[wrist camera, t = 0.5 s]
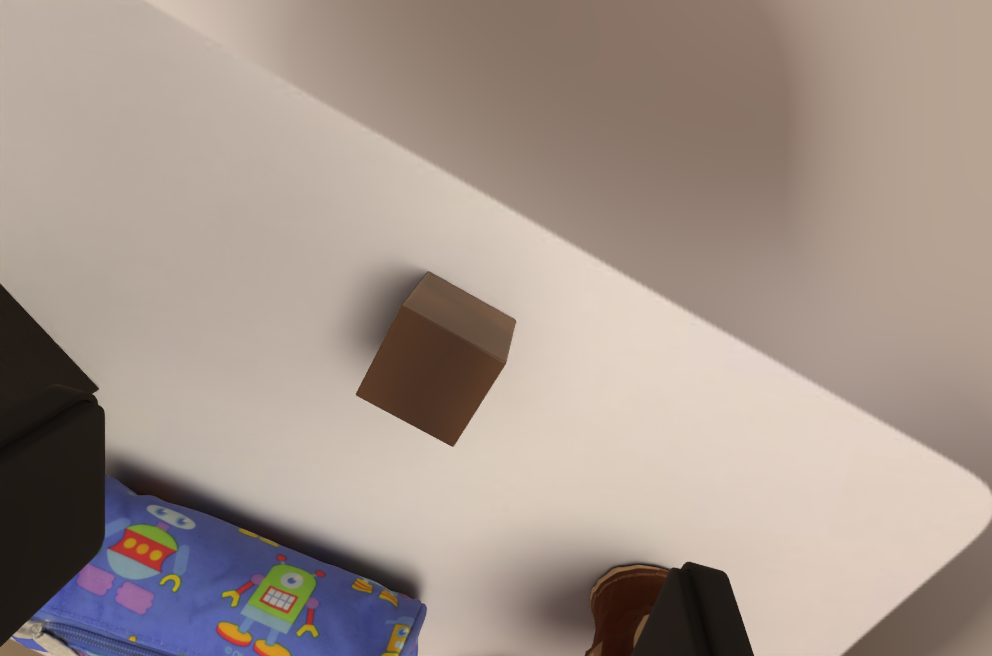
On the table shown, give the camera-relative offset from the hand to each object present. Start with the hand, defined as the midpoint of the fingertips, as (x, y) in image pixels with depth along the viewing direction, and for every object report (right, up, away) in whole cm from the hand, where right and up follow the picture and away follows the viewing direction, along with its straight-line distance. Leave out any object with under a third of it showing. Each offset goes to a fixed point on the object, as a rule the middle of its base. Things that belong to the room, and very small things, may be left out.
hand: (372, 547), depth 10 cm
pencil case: (-13, -11, +28) cm, 33 cm away
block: (0, +3, +21) cm, 21 cm away
